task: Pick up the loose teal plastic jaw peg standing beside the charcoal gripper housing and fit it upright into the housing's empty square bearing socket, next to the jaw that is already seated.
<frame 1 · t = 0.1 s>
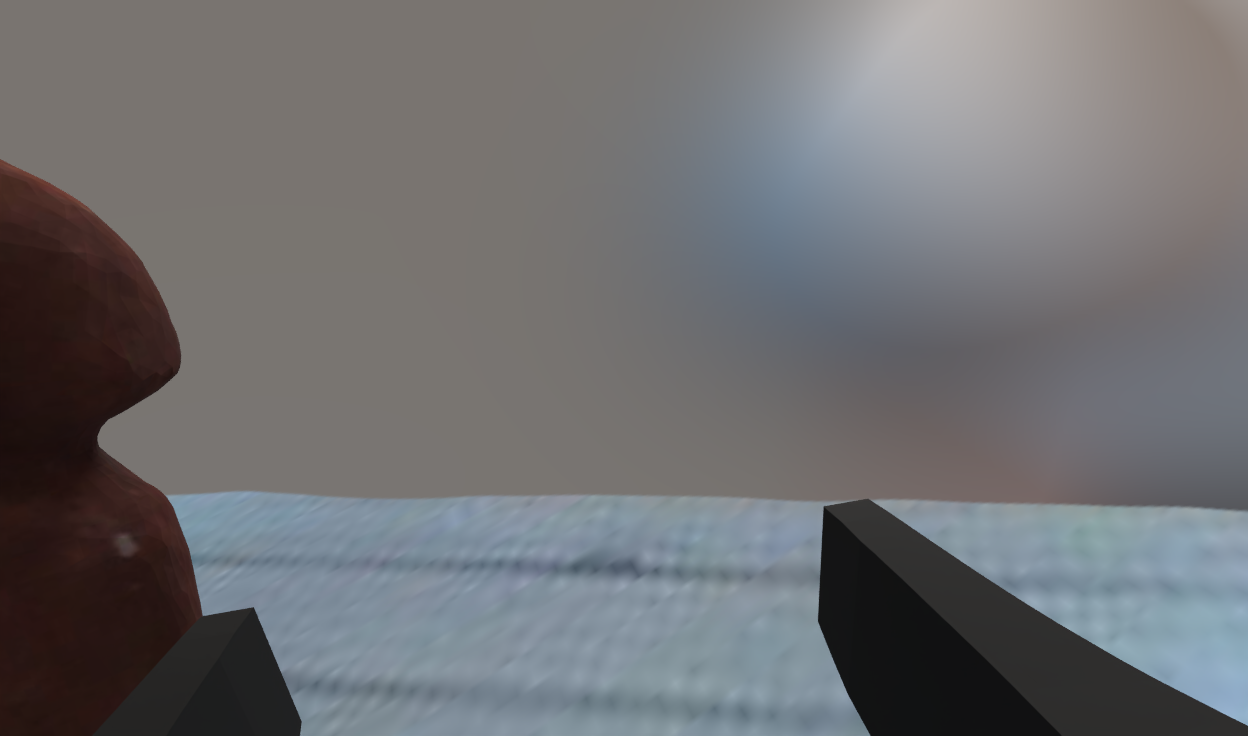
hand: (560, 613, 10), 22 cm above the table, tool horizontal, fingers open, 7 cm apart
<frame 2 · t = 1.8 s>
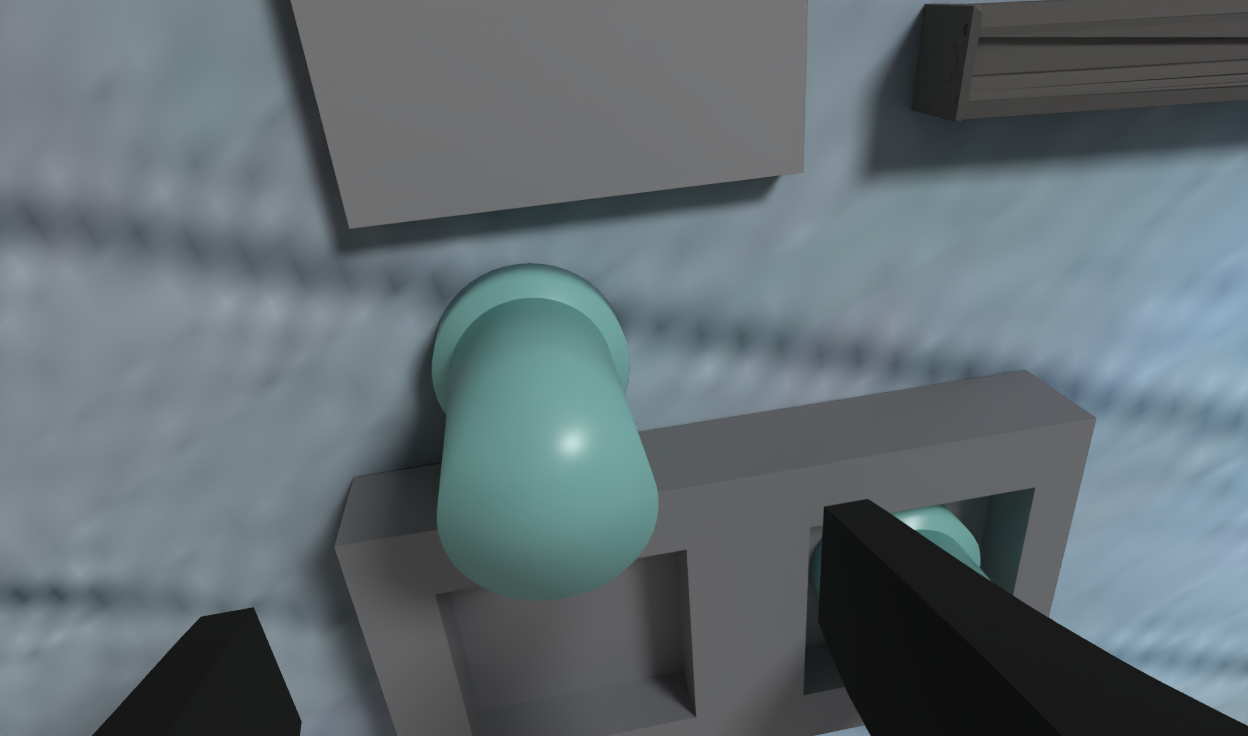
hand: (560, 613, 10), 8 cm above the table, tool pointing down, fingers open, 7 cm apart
jaw peg: (530, 352, 17), on the table
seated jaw: (868, 533, 21), resting on housing
lid: (561, 31, 14), on the table
housing: (712, 561, 20), on the table
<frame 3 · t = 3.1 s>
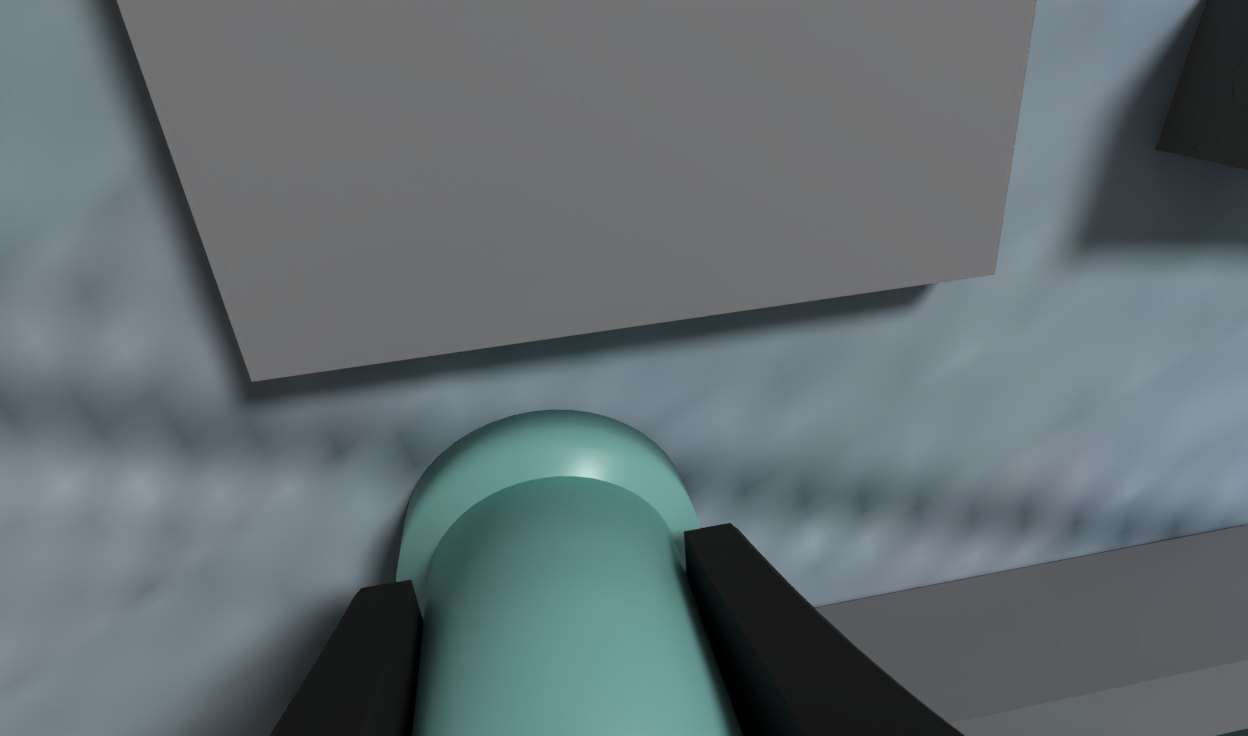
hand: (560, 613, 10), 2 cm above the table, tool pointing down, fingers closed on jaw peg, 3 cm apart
jaw peg: (550, 533, 11), on the table, touching gripper
lid: (611, 48, 8), on the table
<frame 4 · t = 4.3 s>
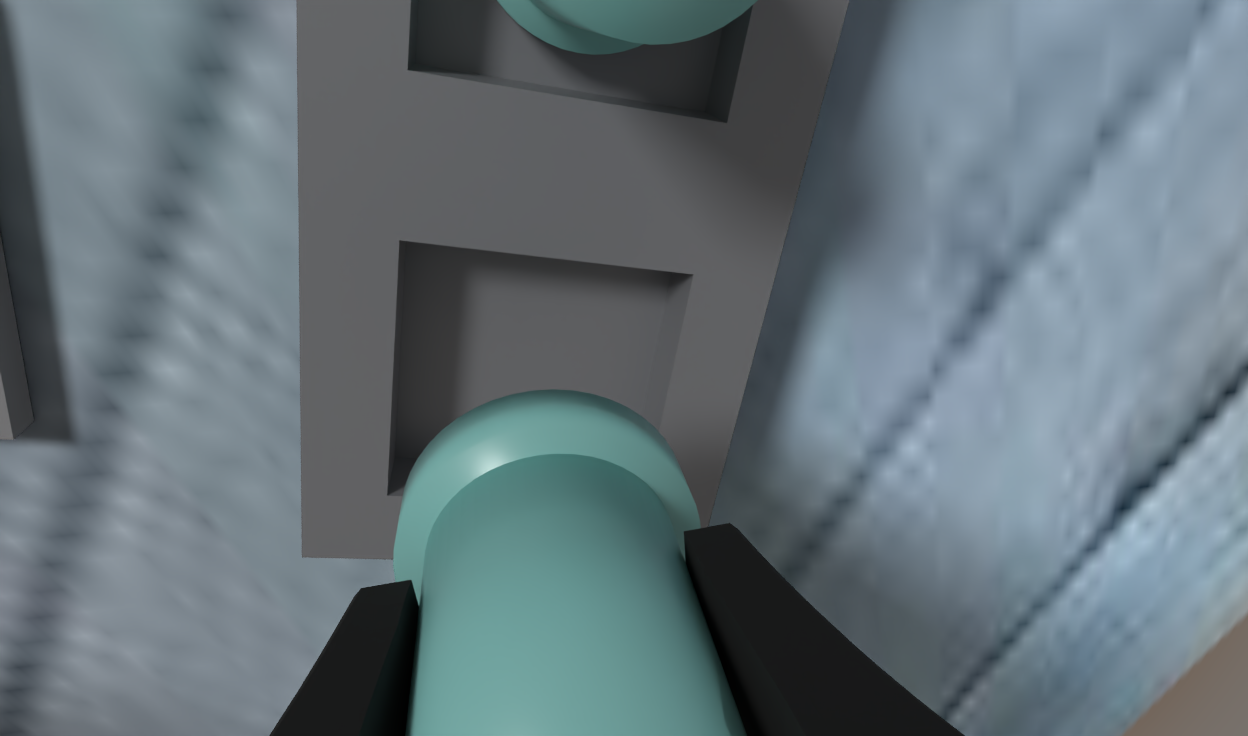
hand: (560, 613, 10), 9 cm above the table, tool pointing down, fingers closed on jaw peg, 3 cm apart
jaw peg: (547, 514, 11), point 7 cm above the table, touching gripper
housing: (550, 168, 16), on the table
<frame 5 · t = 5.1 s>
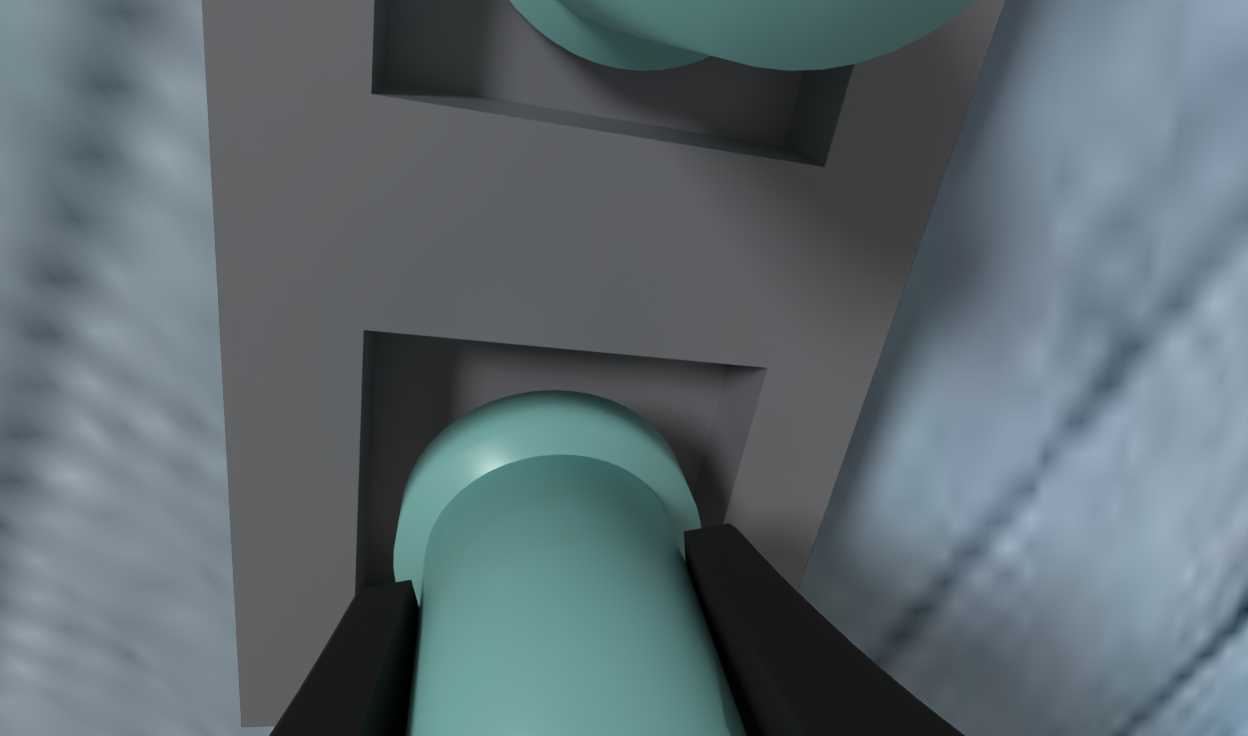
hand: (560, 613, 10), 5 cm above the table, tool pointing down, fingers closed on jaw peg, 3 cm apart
jaw peg: (547, 514, 11), point 3 cm above the table, touching gripper
housing: (572, 217, 12), on the table
when the fingers open (3 cm above the table, at t = 5.7 s): jaw peg stays where it is, resting on housing.
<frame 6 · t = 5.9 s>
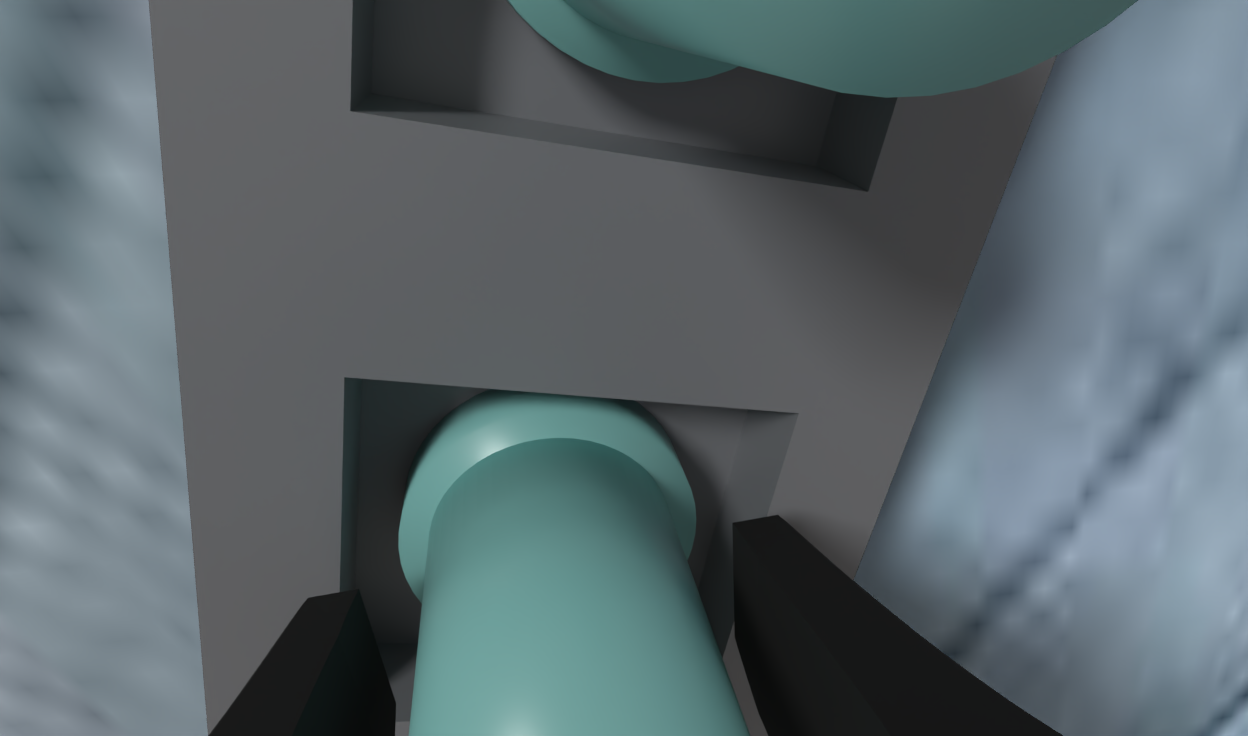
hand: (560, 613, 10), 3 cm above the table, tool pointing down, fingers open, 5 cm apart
jaw peg: (547, 498, 11), point 1 cm above the table, touching housing
housing: (579, 241, 11), on the table
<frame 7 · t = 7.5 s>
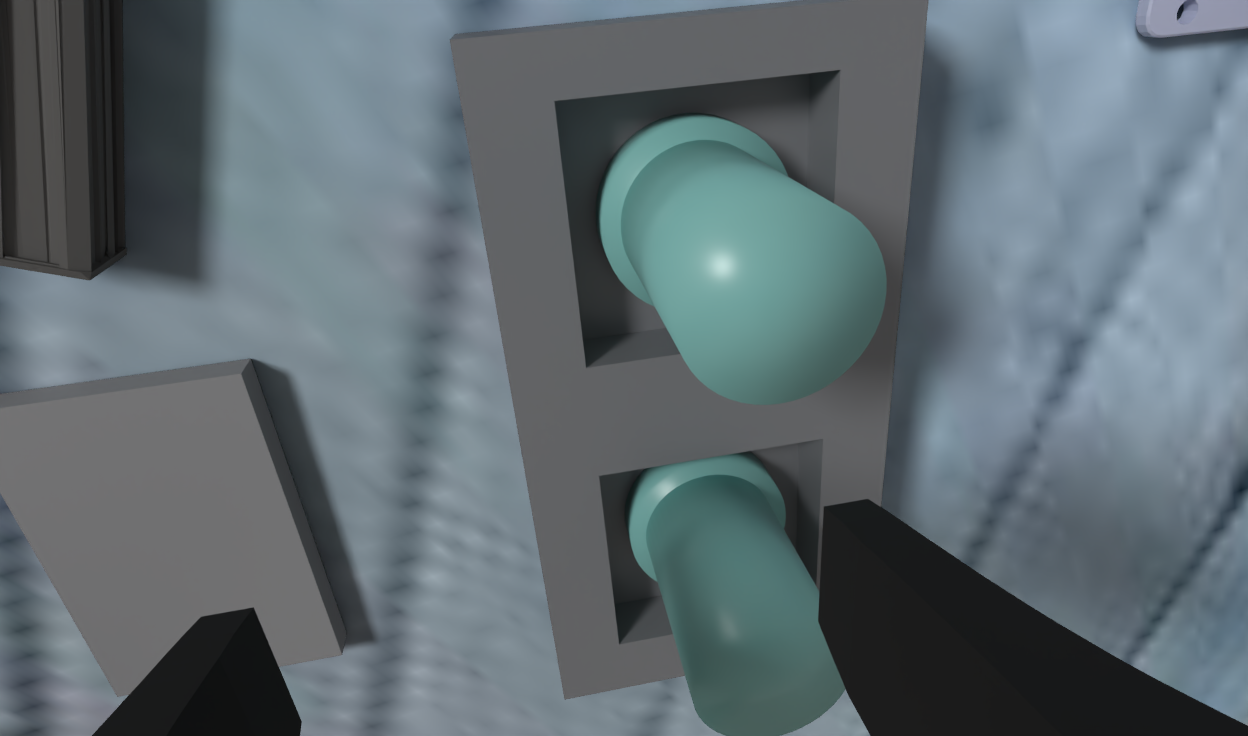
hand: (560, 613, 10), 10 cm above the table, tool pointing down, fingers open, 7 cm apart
jaw peg: (699, 506, 20), point 1 cm above the table, touching housing
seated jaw: (677, 199, 18), resting on housing
lid: (184, 530, 19), on the table
housing: (686, 367, 20), on the table
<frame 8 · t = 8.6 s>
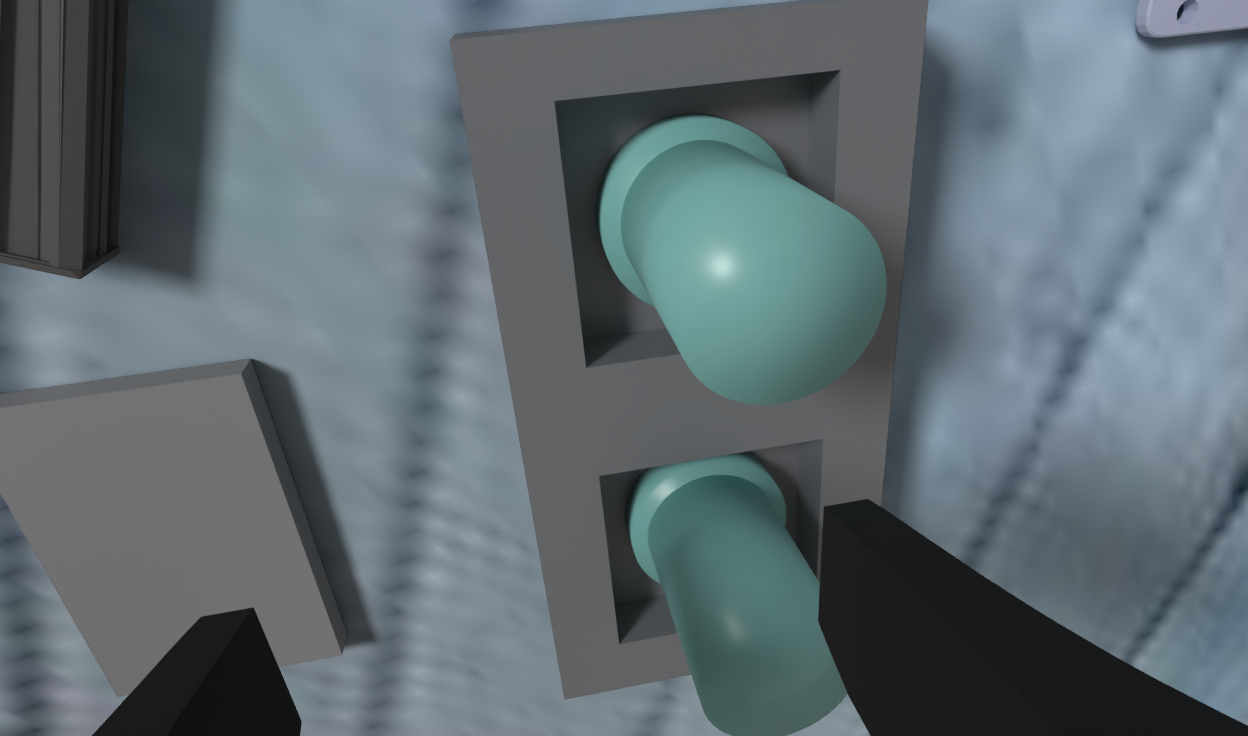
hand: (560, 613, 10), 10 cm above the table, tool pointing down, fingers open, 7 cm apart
jaw peg: (700, 507, 20), point 1 cm above the table, touching housing
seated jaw: (677, 199, 18), resting on housing
lid: (184, 530, 19), on the table
housing: (686, 367, 20), on the table
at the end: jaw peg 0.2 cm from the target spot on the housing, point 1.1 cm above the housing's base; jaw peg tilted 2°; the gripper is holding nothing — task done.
